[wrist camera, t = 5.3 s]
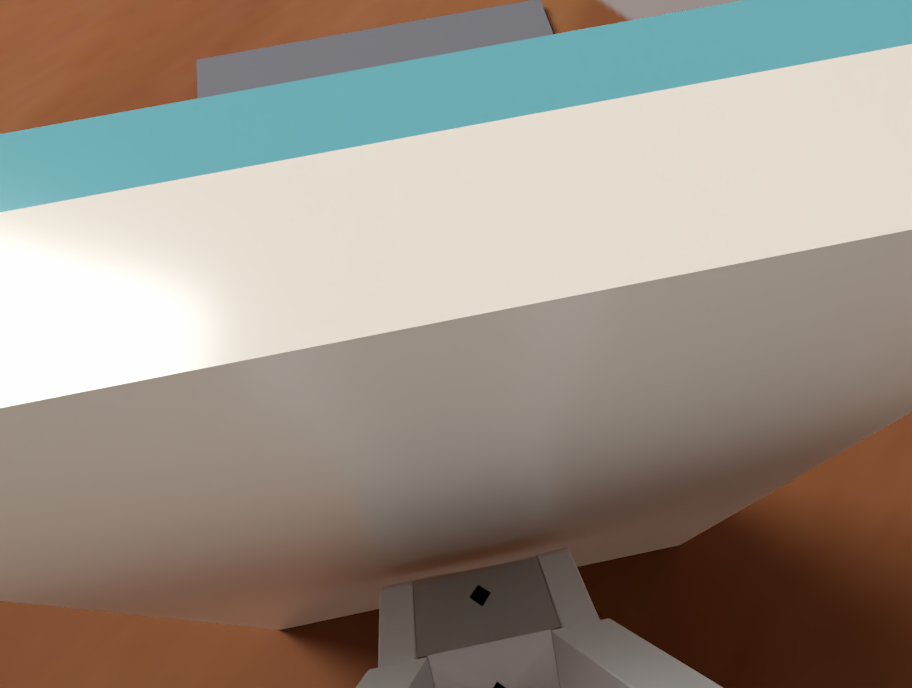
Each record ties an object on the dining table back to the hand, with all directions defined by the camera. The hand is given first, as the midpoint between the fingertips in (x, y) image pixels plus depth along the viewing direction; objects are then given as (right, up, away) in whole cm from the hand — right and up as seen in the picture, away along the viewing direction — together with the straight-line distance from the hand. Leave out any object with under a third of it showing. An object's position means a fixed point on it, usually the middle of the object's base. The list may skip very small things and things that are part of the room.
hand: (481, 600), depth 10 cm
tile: (0, -1, +6) cm, 6 cm away
